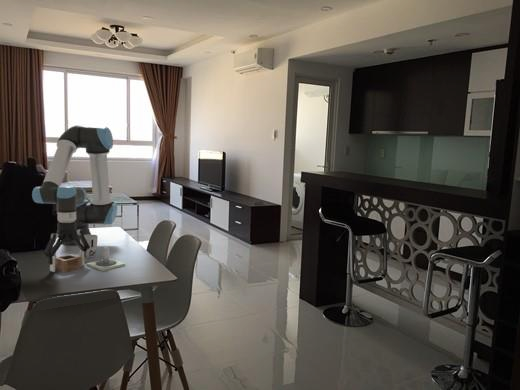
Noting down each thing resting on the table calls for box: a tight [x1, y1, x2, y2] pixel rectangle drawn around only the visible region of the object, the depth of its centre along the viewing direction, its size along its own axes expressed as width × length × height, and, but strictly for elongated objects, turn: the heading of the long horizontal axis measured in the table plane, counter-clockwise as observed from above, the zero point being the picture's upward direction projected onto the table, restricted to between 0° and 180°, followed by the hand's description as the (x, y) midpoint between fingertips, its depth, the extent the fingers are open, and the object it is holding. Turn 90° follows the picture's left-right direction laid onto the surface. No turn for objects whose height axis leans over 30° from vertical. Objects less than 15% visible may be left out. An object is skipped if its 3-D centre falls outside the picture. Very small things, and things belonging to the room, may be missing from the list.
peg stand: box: [86, 246, 126, 272], centre depth 196 cm, size 12×12×8 cm
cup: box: [80, 234, 98, 258], centre depth 209 cm, size 8×8×10 cm
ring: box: [54, 253, 82, 273], centre depth 190 cm, size 8×8×5 cm
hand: (67, 268), depth 190 cm, fingers open, 13 cm apart
